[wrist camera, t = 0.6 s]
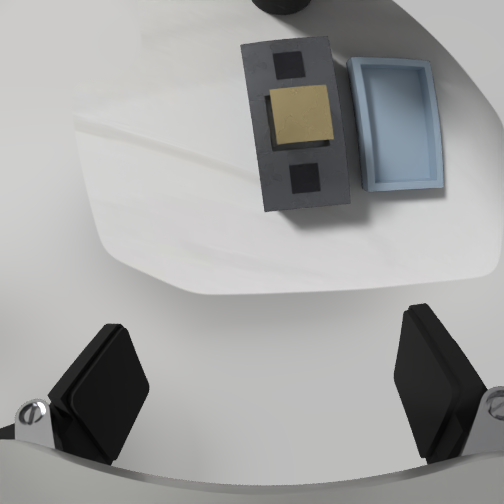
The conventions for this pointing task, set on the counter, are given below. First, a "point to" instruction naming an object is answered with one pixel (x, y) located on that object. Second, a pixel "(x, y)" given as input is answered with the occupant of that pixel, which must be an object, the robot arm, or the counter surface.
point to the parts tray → (396, 123)
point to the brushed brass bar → (301, 114)
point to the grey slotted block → (301, 153)
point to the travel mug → (281, 6)
